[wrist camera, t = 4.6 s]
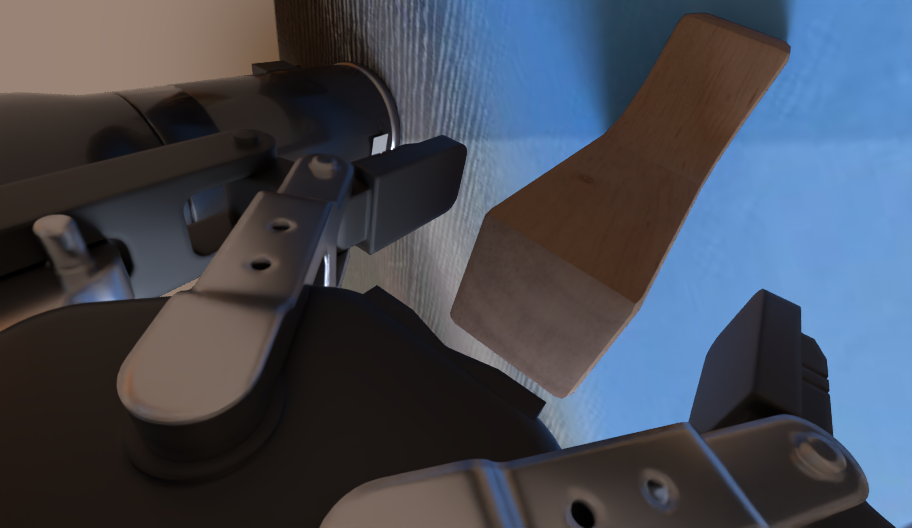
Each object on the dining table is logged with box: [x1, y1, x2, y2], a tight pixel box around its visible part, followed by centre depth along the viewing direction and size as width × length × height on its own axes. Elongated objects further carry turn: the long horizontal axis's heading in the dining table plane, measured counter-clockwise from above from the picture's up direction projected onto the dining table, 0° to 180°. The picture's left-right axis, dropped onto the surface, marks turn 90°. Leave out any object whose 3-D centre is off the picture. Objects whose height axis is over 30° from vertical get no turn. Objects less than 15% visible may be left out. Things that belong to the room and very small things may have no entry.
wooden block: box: [450, 13, 791, 399], centre depth 16 cm, size 9×4×18 cm, turn 163°
